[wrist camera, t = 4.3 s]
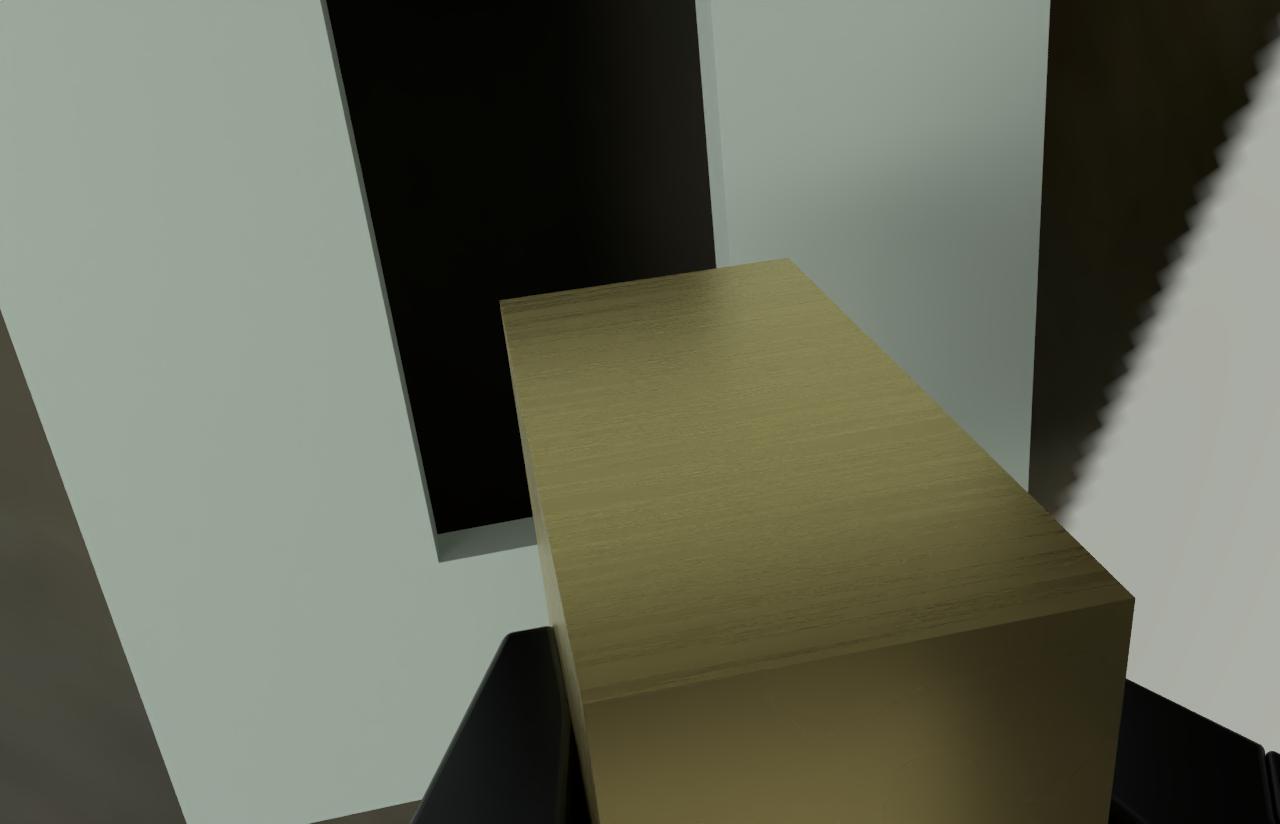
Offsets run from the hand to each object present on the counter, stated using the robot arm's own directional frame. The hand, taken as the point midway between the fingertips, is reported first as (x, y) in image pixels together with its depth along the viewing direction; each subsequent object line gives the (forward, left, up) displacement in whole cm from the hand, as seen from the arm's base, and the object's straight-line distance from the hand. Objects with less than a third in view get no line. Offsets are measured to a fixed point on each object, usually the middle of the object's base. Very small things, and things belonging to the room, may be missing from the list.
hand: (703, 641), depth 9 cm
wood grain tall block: (0, 0, -1) cm, 1 cm away
